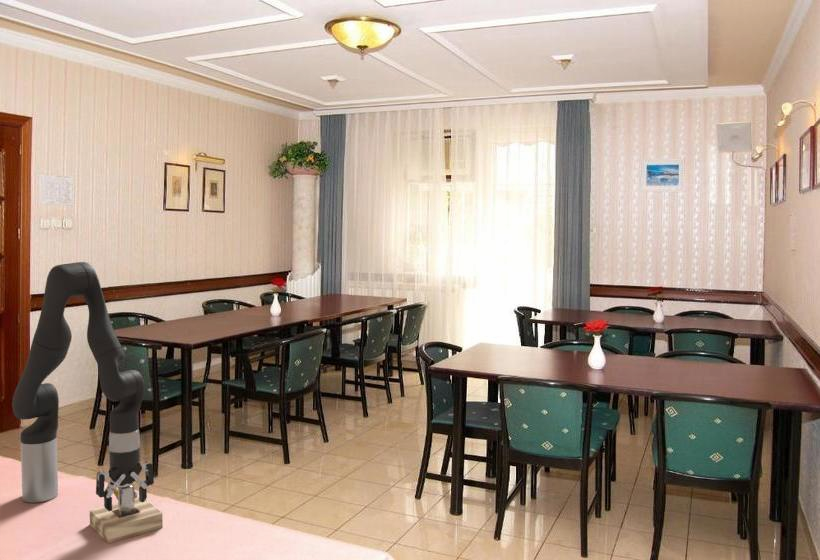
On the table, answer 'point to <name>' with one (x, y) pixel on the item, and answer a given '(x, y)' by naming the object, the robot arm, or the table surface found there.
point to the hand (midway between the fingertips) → (125, 505)
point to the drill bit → (117, 494)
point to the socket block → (125, 521)
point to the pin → (126, 500)
